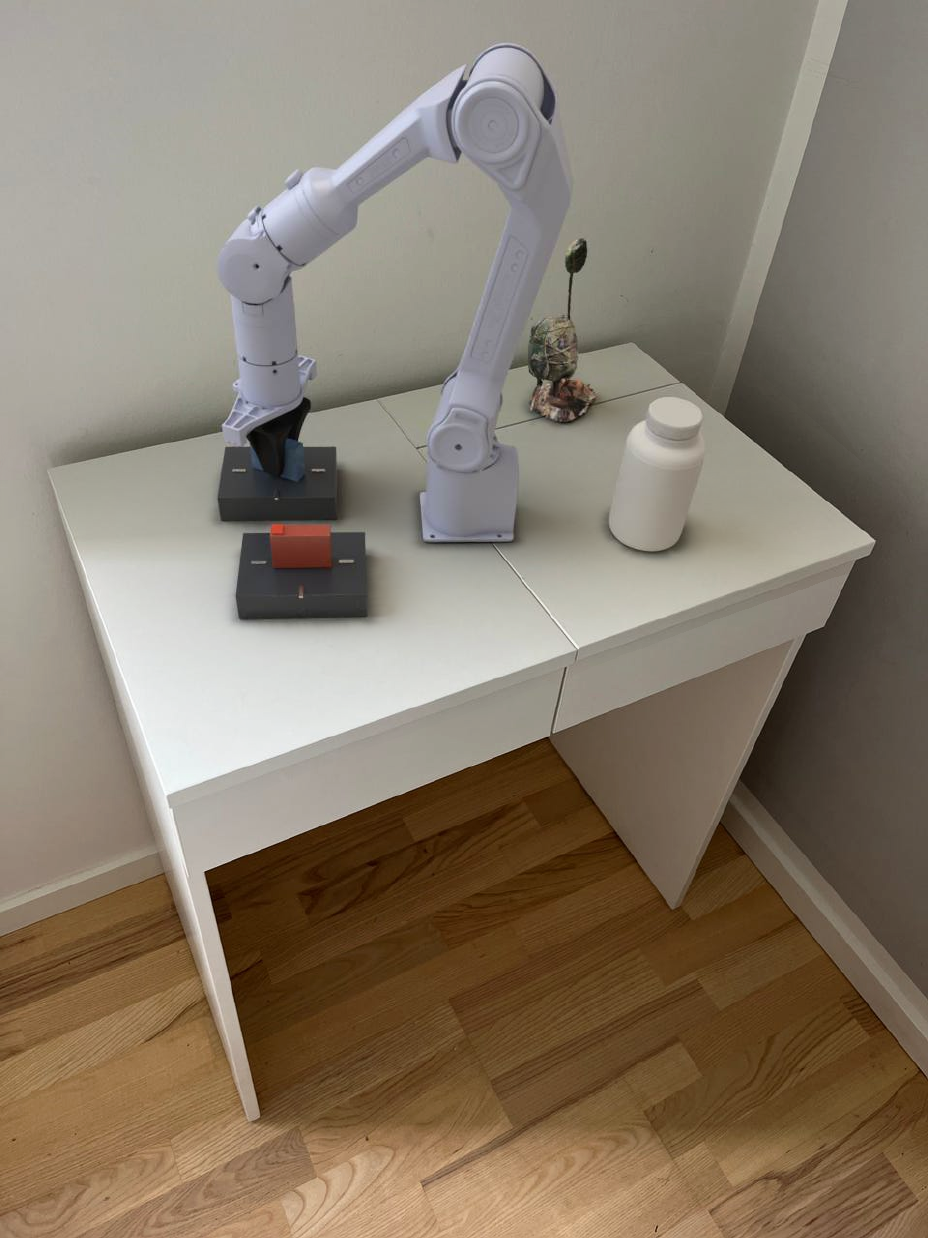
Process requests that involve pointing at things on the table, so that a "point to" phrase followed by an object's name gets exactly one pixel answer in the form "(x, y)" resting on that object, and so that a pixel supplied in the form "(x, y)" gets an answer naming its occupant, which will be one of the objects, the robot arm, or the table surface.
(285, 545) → the block
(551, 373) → the plant with pod
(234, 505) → the panel
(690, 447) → the pill bottle
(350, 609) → the hot tap panel
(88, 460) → the table surface
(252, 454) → the cold tap
